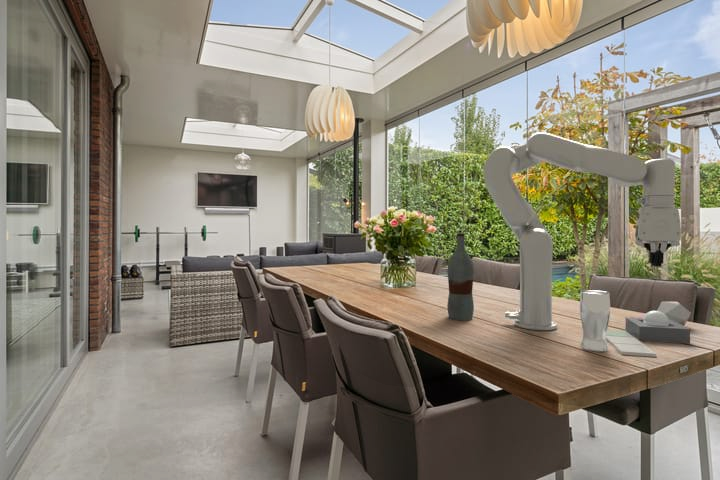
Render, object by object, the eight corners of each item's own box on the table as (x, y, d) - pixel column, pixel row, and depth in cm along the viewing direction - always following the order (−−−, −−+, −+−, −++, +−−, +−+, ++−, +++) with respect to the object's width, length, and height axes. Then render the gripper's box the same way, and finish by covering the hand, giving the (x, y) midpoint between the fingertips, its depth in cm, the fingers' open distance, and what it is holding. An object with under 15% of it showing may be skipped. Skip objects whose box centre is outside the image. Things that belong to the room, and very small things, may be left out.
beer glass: (573, 345, 111) (574, 290, 111) (597, 344, 112) (598, 289, 111) (590, 352, 104) (590, 294, 104) (615, 352, 105) (616, 293, 105)
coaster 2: (612, 345, 111) (612, 342, 111) (604, 338, 118) (604, 335, 118) (644, 347, 108) (644, 344, 108) (634, 340, 116) (634, 337, 116)
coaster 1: (603, 337, 118) (603, 335, 118) (597, 331, 125) (597, 328, 125) (633, 339, 116) (633, 337, 116) (625, 333, 123) (625, 330, 123)
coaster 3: (621, 354, 103) (621, 351, 103) (612, 346, 110) (612, 343, 110) (656, 357, 101) (656, 353, 101) (644, 348, 108) (645, 345, 108)
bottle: (441, 316, 147) (441, 233, 146) (460, 314, 152) (461, 233, 151) (460, 321, 139) (460, 233, 138) (479, 318, 144) (480, 233, 143)
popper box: (639, 340, 116) (639, 326, 115) (625, 330, 127) (625, 317, 127) (690, 343, 112) (690, 329, 112) (671, 332, 123) (671, 319, 123)
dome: (647, 333, 117) (648, 312, 117) (640, 328, 123) (640, 308, 123) (672, 334, 116) (672, 313, 116) (663, 329, 121) (663, 309, 121)
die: (691, 333, 126) (700, 306, 129) (664, 318, 127) (673, 292, 130) (671, 335, 134) (680, 310, 136) (646, 322, 135) (655, 297, 138)
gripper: (632, 202, 117) (630, 266, 118) (695, 201, 112) (693, 268, 113) (624, 203, 124) (622, 264, 125) (682, 203, 120) (680, 265, 120)
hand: (656, 265), depth 119 cm, fingers closed
